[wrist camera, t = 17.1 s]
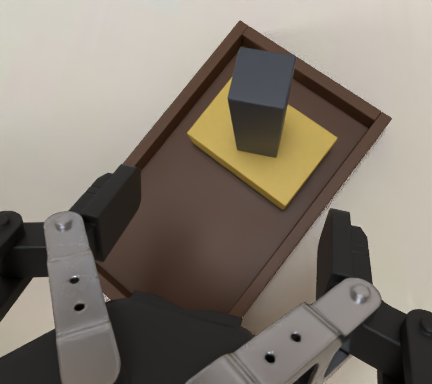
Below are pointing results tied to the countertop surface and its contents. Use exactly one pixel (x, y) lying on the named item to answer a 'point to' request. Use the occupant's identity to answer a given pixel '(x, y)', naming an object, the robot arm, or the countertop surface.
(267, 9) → the countertop surface
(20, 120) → the countertop surface
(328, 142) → the grey post with base
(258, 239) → the tray
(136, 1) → the countertop surface
